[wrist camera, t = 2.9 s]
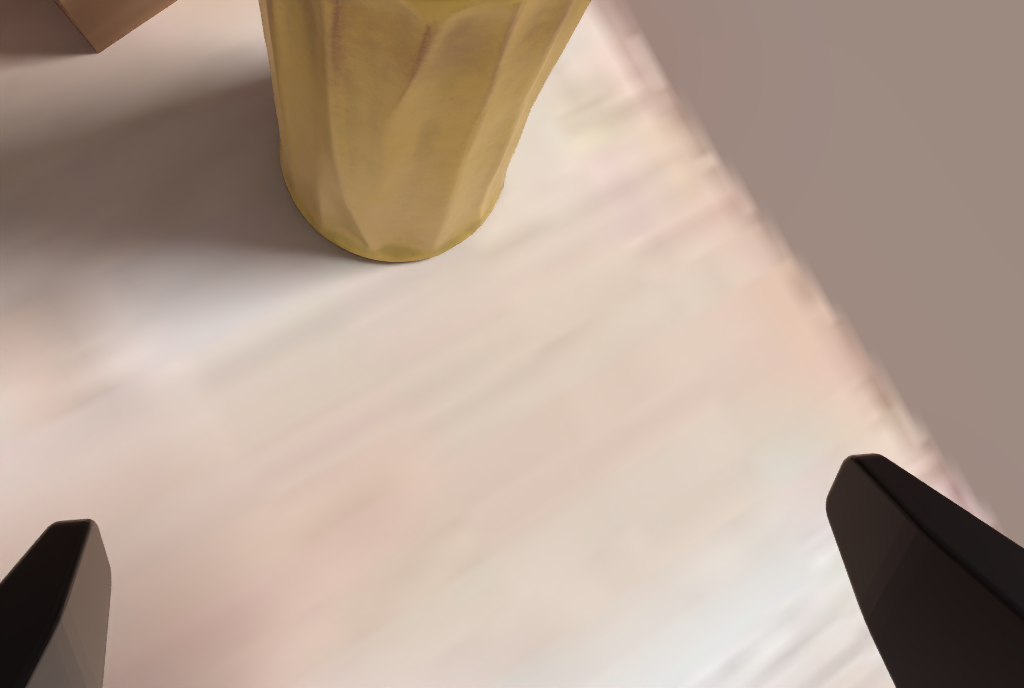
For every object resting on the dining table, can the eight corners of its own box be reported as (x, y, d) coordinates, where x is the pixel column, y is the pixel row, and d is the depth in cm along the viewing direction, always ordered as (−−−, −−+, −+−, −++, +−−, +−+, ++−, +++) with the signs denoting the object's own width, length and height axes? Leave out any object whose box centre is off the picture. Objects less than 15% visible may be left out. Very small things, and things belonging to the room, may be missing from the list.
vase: (549, 150, 25) (796, -203, 11) (405, 310, 24) (469, 152, 10) (385, 1, 24) (417, -572, 10) (231, 158, 23) (29, -242, 9)
